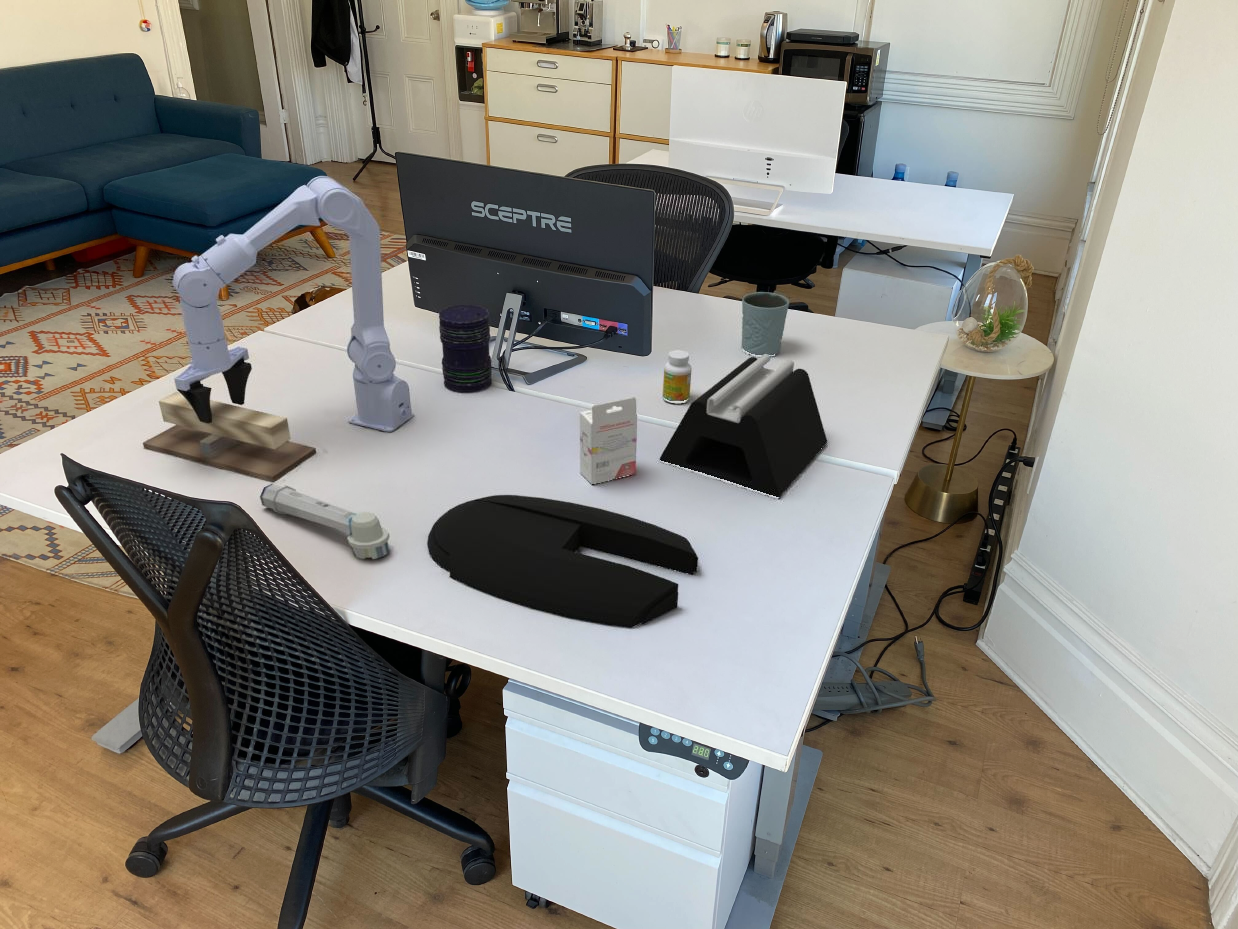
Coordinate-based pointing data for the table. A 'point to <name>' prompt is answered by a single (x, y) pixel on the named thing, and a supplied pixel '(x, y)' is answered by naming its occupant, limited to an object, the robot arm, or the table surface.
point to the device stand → (751, 428)
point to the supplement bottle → (677, 376)
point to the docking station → (561, 558)
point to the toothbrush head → (331, 519)
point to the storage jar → (465, 348)
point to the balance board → (232, 453)
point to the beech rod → (228, 421)
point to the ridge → (216, 445)
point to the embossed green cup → (763, 322)
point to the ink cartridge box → (608, 440)
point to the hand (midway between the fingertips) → (222, 412)
